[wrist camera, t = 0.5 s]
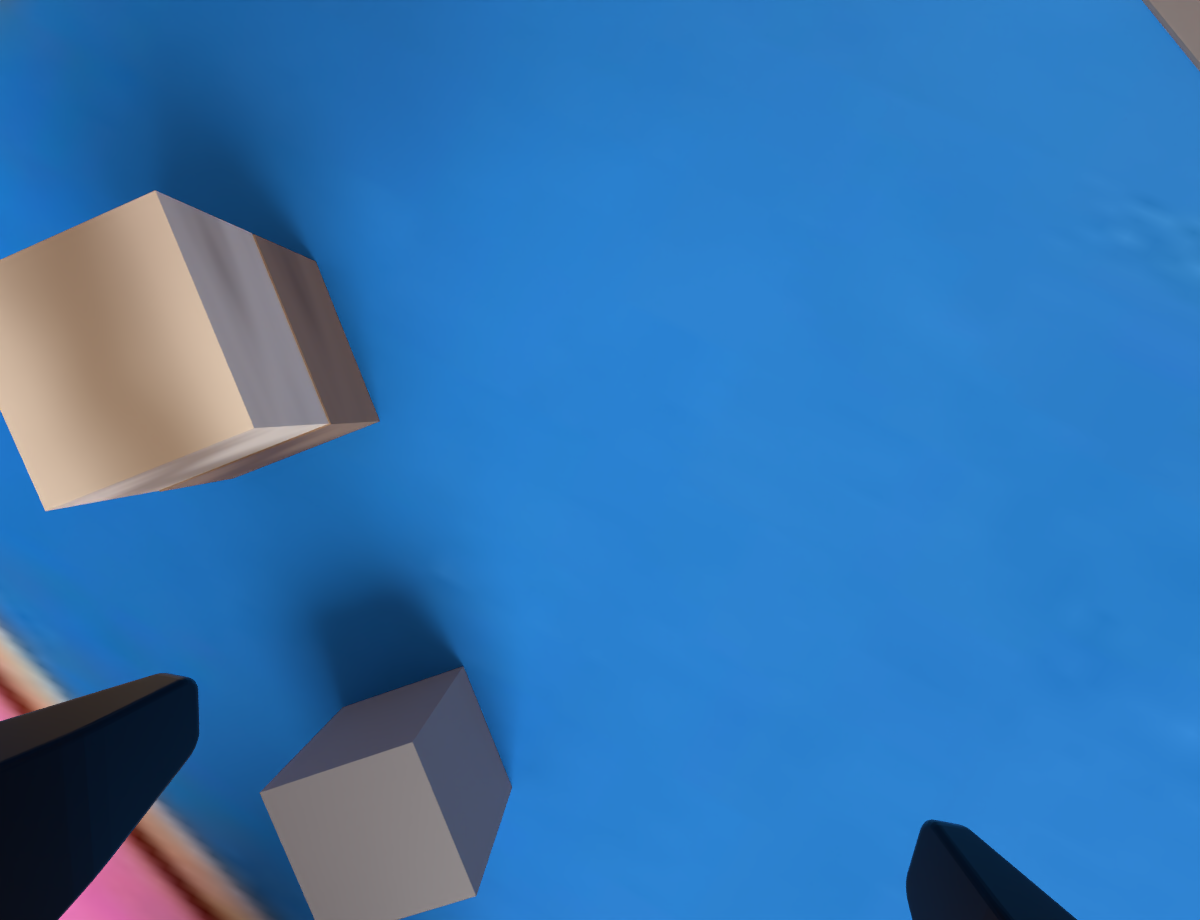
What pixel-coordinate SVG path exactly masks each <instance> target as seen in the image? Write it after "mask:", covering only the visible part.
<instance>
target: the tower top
mask: <svg viewBox="0 0 1200 920" xmlns="http://www.w3.org/2000/svg"><path fill="white" fill-rule="evenodd" d="M0 410H1V412H2V415H3V417H4V419H5V421H6V424H7V426H8V428H9V430H10V433H11V435H12V437H13V439H14V442H15V444H16V446H17V448H18V451H19V453H20V455H21V457H22V459H23V462H24V464H25V466H26V468H27V471H28V473H29V475H30V477H31V480H32V482H33V484H34V486H35V489H36V491H37V493H38V495H39V498H40V500H41V502H42V504H43V507H44V509H45V511H49V510H55V509H60V508H66V507H71V506H77V505H82V504H88V503H93V502H99V501H104V500H110V499H116V498H121V497H127V496H132V495H138V494H143V493H149V492H154V491H159V490H161V489H164V488H166V487H169V486H171V485H174V484H177V483H179V482H182V481H184V480H187V479H189V478H192V477H194V476H197V475H199V474H202V473H205V472H207V471H210V470H212V469H215V468H217V467H220V466H222V465H225V464H227V463H230V462H233V461H235V460H238V459H240V458H243V457H245V456H248V455H250V454H253V453H255V452H258V451H261V450H263V449H266V448H268V447H271V446H273V445H276V444H278V443H281V442H283V441H286V440H289V439H291V438H294V437H296V436H299V435H301V434H304V433H306V432H309V431H311V430H314V429H316V428H319V427H322V426H324V425H327V424H329V422H328V419H327V417H326V414H325V412H324V409H323V407H322V404H321V402H320V399H319V397H318V395H317V392H316V390H315V387H314V385H313V382H312V380H311V377H310V375H309V372H308V370H307V367H306V365H305V363H304V360H303V358H302V355H301V353H300V350H299V348H298V345H297V343H296V340H295V338H294V336H293V333H292V331H291V328H290V326H289V323H288V321H287V318H286V316H285V313H284V311H283V308H282V306H281V304H280V301H279V299H278V296H277V294H276V291H275V289H274V286H273V284H272V281H271V279H270V277H269V274H268V272H267V269H266V267H265V264H264V262H263V259H262V257H261V254H260V252H259V250H258V247H257V245H256V242H255V240H254V237H253V235H252V233H250V232H248V231H246V230H244V229H241V228H239V227H237V226H235V225H232V224H230V223H228V222H226V221H223V220H221V219H219V218H217V217H214V216H212V215H210V214H207V213H205V212H203V211H201V210H198V209H196V208H194V207H192V206H189V205H187V204H185V203H183V202H180V201H178V200H176V199H174V198H171V197H169V196H167V195H165V194H162V193H160V192H158V191H156V190H155V191H153V192H151V193H148V194H146V195H144V196H142V197H139V198H137V199H135V200H133V201H131V202H128V203H126V204H124V205H122V206H119V207H117V208H115V209H113V210H110V211H108V212H106V213H104V214H102V215H99V216H97V217H95V218H93V219H90V220H88V221H86V222H84V223H81V224H79V225H77V226H75V227H73V228H70V229H68V230H66V231H64V232H61V233H59V234H57V235H55V236H52V237H50V238H48V239H46V240H44V241H41V242H39V243H37V244H35V245H32V246H30V247H28V248H26V249H23V250H21V251H19V252H17V253H15V254H12V255H10V256H8V257H6V258H3V259H1V260H0Z"/></svg>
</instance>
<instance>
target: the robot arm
mask: <svg viewBox="0 0 1200 920" xmlns="http://www.w3.org/2000/svg"><path fill="white" fill-rule="evenodd" d="M198 737H199V707H198V686H197V684H196V682H195V681H194V680H193V679H191V678H189V677H184V676H179V675H173V674H168V673H159V674H155V675H152V676H148V677H145V678H142V679H138V680H135V681H132V682H128V683H125V684H122V685H119V686H115V687H112V688H109V689H105V690H102V691H99V692H96V693H92V694H89V695H86V696H82V697H79V698H76V699H72V700H69V701H66V702H63V703H59V704H56V705H53V706H49V707H46V708H43V709H39V710H36V711H33V712H30V713H26V714H23V715H20V716H16V717H13V718H10V719H7V720H3V721H0V920H58V919H59V918H60V917H61V916H62V915H63V914H64V913H65V912H66V910H67V909H68V908H69V907H70V906H71V905H72V904H73V903H74V902H75V900H76V899H77V898H78V897H79V896H80V895H81V893H82V892H83V891H84V890H85V889H86V888H87V887H88V885H89V884H90V883H91V882H92V881H93V880H94V879H95V877H96V876H97V875H98V874H99V872H100V871H101V870H102V869H103V867H104V866H105V865H106V864H107V862H108V861H109V860H110V859H111V858H112V856H113V855H114V854H115V852H116V851H117V850H118V849H119V847H120V846H121V845H122V843H123V842H124V841H125V840H126V838H127V837H128V836H129V834H130V833H131V832H132V831H133V829H134V828H135V827H136V825H137V824H138V823H139V822H140V820H141V819H142V818H143V816H144V815H145V814H146V813H147V811H148V810H149V809H150V807H151V806H152V805H153V803H154V802H155V801H156V800H157V798H158V797H159V796H160V794H161V793H162V792H163V791H164V789H165V788H166V787H167V785H168V784H169V783H170V782H171V780H172V779H173V778H174V776H175V775H176V774H177V773H178V771H179V770H180V769H181V767H182V766H183V765H184V764H185V762H186V761H187V760H188V758H189V757H190V755H191V754H192V752H193V750H194V749H195V746H196V744H197V741H198ZM906 893H907V900H908V904H909V908H910V912H911V916H912V920H1077V919H1076V918H1074V917H1073V916H1072V915H1071V914H1070V913H1069V912H1067V911H1066V910H1065V909H1064V908H1063V907H1061V906H1060V905H1059V904H1058V903H1057V902H1055V901H1054V900H1053V899H1052V898H1051V897H1049V896H1048V895H1047V894H1046V893H1045V892H1044V891H1042V890H1041V889H1040V888H1039V887H1038V886H1036V885H1035V884H1034V883H1033V882H1032V881H1030V880H1029V879H1028V878H1027V877H1026V876H1024V875H1023V874H1022V873H1021V872H1020V871H1019V870H1017V869H1016V868H1015V867H1014V866H1013V865H1011V864H1010V863H1009V862H1008V861H1007V860H1005V859H1004V858H1003V857H1002V856H1001V855H999V854H998V853H997V852H996V851H995V850H994V849H992V848H991V847H990V846H989V845H988V844H986V843H985V842H984V841H983V840H982V839H980V838H979V837H978V836H977V835H976V834H975V833H973V832H972V831H971V830H970V829H968V828H967V827H965V826H962V825H959V824H954V823H948V822H943V821H938V820H928V821H926V822H925V823H924V824H923V825H922V827H921V830H920V833H919V836H918V839H917V843H916V846H915V849H914V853H913V856H912V860H911V863H910V866H909V870H908V873H907V879H906Z"/></svg>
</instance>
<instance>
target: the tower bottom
mask: <svg viewBox="0 0 1200 920" xmlns="http://www.w3.org/2000/svg"><path fill="white" fill-rule="evenodd" d="M253 237H254V240H255V242H256V245H257V247H258V250H259V252H260V254H261V257H262V259H263V262H264V264H265V267H266V269H267V272H268V274H269V277H270V279H271V281H272V284H273V286H274V289H275V291H276V294H277V296H278V299H279V301H280V304H281V306H282V308H283V311H284V313H285V316H286V318H287V321H288V323H289V326H290V328H291V331H292V333H293V336H294V338H295V340H296V343H297V345H298V348H299V350H300V353H301V355H302V358H303V360H304V363H305V365H306V367H307V370H308V372H309V375H310V377H311V380H312V382H313V385H314V387H315V390H316V392H317V395H318V397H319V399H320V402H321V404H322V407H323V409H324V412H325V414H326V417H327V419H328V422H329V424H327V425H324V426H322V427H319V428H316V429H314V430H311V431H309V432H306V433H304V434H301V435H299V436H296V437H294V438H291V439H289V440H286V441H283V442H281V443H278V444H276V445H273V446H271V447H268V448H266V449H263V450H261V451H258V452H255V453H253V454H250V455H248V456H245V457H243V458H240V459H238V460H235V461H233V462H230V463H227V464H225V465H222V466H220V467H217V468H215V469H212V470H210V471H207V472H205V473H202V474H199V475H197V476H194V477H192V478H189V479H187V480H184V481H182V482H179V483H177V484H174V485H171V486H169V487H166V488H164V489H161V490H159V491H160V492H161V491H166V490H172V489H177V488H183V487H188V486H194V485H199V484H205V483H210V482H216V481H221V480H227V479H232V478H235V477H238V476H241V475H243V474H246V473H248V472H251V471H253V470H256V469H258V468H261V467H264V466H266V465H269V464H271V463H274V462H276V461H279V460H282V459H284V458H287V457H289V456H292V455H294V454H297V453H299V452H302V451H305V450H307V449H310V448H312V447H315V446H317V445H320V444H323V443H325V442H328V441H330V440H333V439H335V438H338V437H341V436H343V435H346V434H348V433H351V432H353V431H356V430H358V429H361V428H364V427H366V426H369V425H371V424H374V423H376V422H379V418H378V416H377V413H376V411H375V408H374V406H373V403H372V401H371V398H370V396H369V393H368V391H367V388H366V386H365V383H364V381H363V378H362V376H361V373H360V371H359V368H358V366H357V363H356V361H355V358H354V356H353V353H352V351H351V348H350V346H349V343H348V341H347V338H346V336H345V333H344V331H343V328H342V326H341V323H340V321H339V318H338V316H337V313H336V311H335V308H334V306H333V303H332V301H331V298H330V296H329V293H328V291H327V288H326V286H325V283H324V281H323V278H322V276H321V273H320V271H319V268H318V266H317V263H316V261H314V260H311V259H309V258H307V257H304V256H302V255H300V254H298V253H295V252H293V251H291V250H289V249H286V248H284V247H282V246H280V245H277V244H275V243H273V242H271V241H268V240H266V239H264V238H262V237H259V236H257V235H255V234H253Z"/></svg>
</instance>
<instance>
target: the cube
mask: <svg viewBox="0 0 1200 920" xmlns="http://www.w3.org/2000/svg"><path fill="white" fill-rule="evenodd" d="M511 789H512V786H511V783H510V781H509V778H508V776H507V774H506V771H505V769H504V766H503V764H502V761H501V759H500V756H499V754H498V751H497V749H496V746H495V744H494V741H493V739H492V736H491V734H490V731H489V729H488V726H487V724H486V721H485V719H484V716H483V714H482V711H481V709H480V706H479V704H478V701H477V699H476V696H475V694H474V691H473V689H472V686H471V684H470V681H469V679H468V676H467V674H466V671H465V669H464V667H463V666H462V667H460V668H457V669H454V670H451V671H448V672H445V673H442V674H439V675H436V676H433V677H430V678H427V679H424V680H421V681H419V682H416V683H413V684H410V685H407V686H404V687H401V688H398V689H395V690H392V691H389V692H386V693H383V694H380V695H378V696H375V697H372V698H369V699H366V700H363V701H360V702H357V703H354V704H351V705H348V706H345V707H343V708H342V709H341V710H340V711H339V712H338V713H337V714H336V715H335V716H334V717H333V718H332V719H331V720H330V721H329V722H328V723H327V724H326V725H325V726H324V727H323V728H322V729H321V730H320V731H319V732H318V733H317V734H316V735H315V736H314V737H313V738H312V740H311V741H310V742H309V743H308V744H307V745H306V746H305V747H304V748H303V749H302V750H301V751H300V752H299V753H298V754H297V755H296V756H295V757H294V758H293V759H292V760H291V761H290V762H289V763H288V764H287V765H286V766H285V767H284V768H283V769H282V770H281V771H280V772H279V773H278V774H277V775H276V776H275V777H274V778H273V780H272V781H271V782H270V783H269V784H268V785H267V786H266V787H265V788H264V789H263V790H262V791H261V792H260V795H261V797H262V799H263V802H264V804H265V806H266V808H267V811H268V813H269V815H270V818H271V820H272V822H273V825H274V827H275V829H276V831H277V834H278V836H279V838H280V841H281V843H282V845H283V848H284V850H285V852H286V855H287V857H288V859H289V861H290V864H291V866H292V868H293V871H294V873H295V875H296V878H297V880H298V882H299V884H300V887H301V889H302V891H303V894H304V896H305V898H306V901H307V903H308V905H309V908H310V910H311V912H312V914H313V917H314V919H315V920H398V919H401V918H405V917H408V916H411V915H415V914H418V913H421V912H425V911H428V910H431V909H435V908H438V907H441V906H445V905H448V904H451V903H455V902H458V901H461V900H465V899H468V898H471V897H475V896H476V895H477V892H478V889H479V886H480V883H481V880H482V877H483V874H484V871H485V868H486V865H487V862H488V858H489V855H490V852H491V849H492V846H493V843H494V840H495V837H496V834H497V831H498V828H499V825H500V822H501V819H502V816H503V813H504V810H505V807H506V804H507V801H508V798H509V795H510V792H511Z"/></svg>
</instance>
